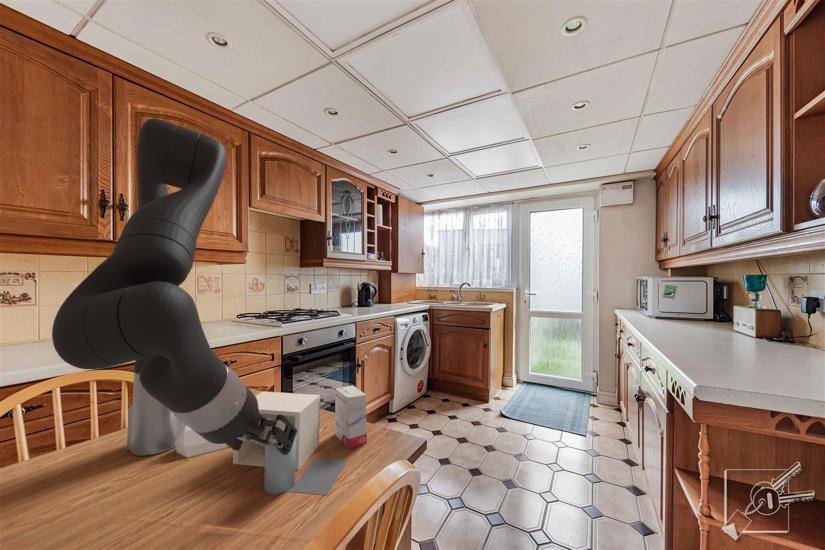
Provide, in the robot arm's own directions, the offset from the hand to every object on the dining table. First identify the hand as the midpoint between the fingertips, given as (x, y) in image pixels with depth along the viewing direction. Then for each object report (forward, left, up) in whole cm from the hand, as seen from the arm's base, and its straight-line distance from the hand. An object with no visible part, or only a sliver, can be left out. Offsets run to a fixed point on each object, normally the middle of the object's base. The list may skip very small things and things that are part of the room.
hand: (263, 446), depth 53 cm
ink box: (+7, +25, -11) cm, 28 cm away
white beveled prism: (-19, +21, -11) cm, 30 cm away
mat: (+6, +10, -10) cm, 15 cm away
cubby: (-6, +16, -10) cm, 20 cm away
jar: (0, +6, -10) cm, 12 cm away
